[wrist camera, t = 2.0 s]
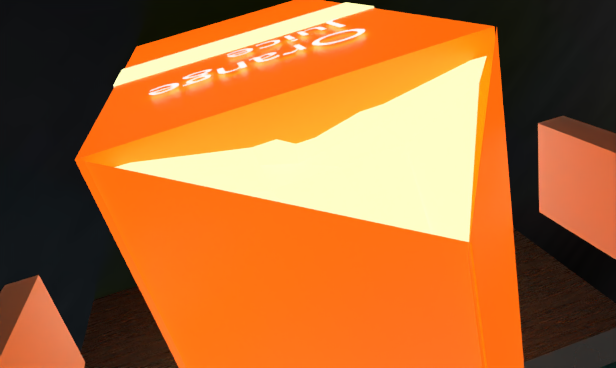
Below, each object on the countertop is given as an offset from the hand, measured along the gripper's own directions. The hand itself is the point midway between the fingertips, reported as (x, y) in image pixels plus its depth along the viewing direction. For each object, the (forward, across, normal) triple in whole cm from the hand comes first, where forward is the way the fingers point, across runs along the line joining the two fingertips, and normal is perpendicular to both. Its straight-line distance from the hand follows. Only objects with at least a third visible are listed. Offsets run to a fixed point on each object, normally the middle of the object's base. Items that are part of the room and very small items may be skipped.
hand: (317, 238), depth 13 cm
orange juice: (+12, 0, 0) cm, 12 cm away
